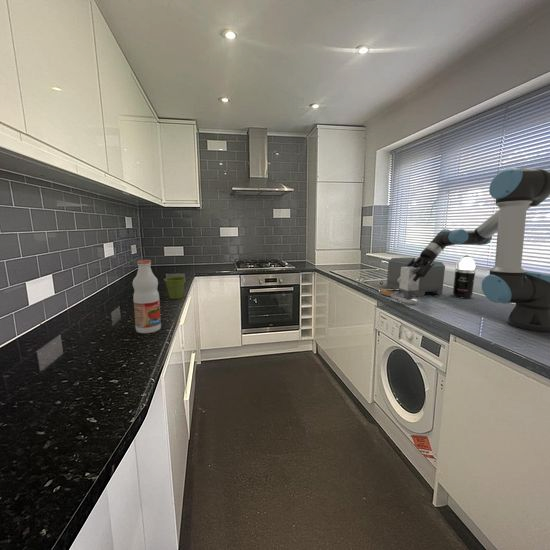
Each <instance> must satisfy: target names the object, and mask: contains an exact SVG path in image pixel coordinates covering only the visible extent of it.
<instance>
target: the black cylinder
mask: <svg viewBox="0 0 550 550" xmlns="http://www.w3.org/2000/svg"><path fill="white" fill-rule="evenodd" d="M476 270H477V263H476V261H475V260H474V258H472V257H471V256H470V255H467V254H466V255H464V256H462V257H461V258H459V259H458V260H457V261H456V263H455V270H454V271H455V272H454V279H453V288H452V289H453V290H452V295H453V297H455V296H456V298H459V297H463V298H462V299H470V298H472V297H473V291H474V284H475V276H476Z"/></svg>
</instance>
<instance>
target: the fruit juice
mask: <svg viewBox="0 0 550 550" xmlns="http://www.w3.org/2000/svg"><path fill="white" fill-rule="evenodd" d="M151 264H152V260H151V259H139V260H136V265H137V266H138V267H137V273H136V276H135V277H134V278H133V280H132V288H133V290H134V291H133V299H132V300H133V301H132V302H133V310H134V323H135V324H134V325H135V331H136V333H139V334H151V333H156V332H157V331H158V332H159V330H161V328H162V320H161V305H160V303H161V302H160V301H161V300H160V294H159V293H160V292H159V291H158V285H159V280H158V278H157V277H156V276H155V274H154V273H153V270H152V268H151Z"/></svg>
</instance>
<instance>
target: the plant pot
mask: <svg viewBox="0 0 550 550" xmlns="http://www.w3.org/2000/svg"><path fill="white" fill-rule="evenodd" d="M186 280H187V278H186V277H184V276H171V277H166V278H164V279H163V281H164V282H165V285H166V288H167V292H168V295H169V299H170V300H176V299H177V300H180V299H183V297H184V290H185V289H184V288H185V282H186Z"/></svg>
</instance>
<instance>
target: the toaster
mask: <svg viewBox="0 0 550 550" xmlns="http://www.w3.org/2000/svg"><path fill="white" fill-rule="evenodd" d="M413 258H415V257H392V258H390V259H389V260H388V265H387V278H386V279H387V280H386V287H387V288H388V289H393V290H395V289H399V290H400V292H402V293H404V289H400V288H399V286H400V283H399V282H398V281H397V280H398V279H399V278H400V274H401V267H406V266H407V265H408V264H409V263H410V262H411V261H412V259H413ZM415 259H418V257H416V258H415ZM433 263H434V265H433V266H432V267H431V268H430V270H429V271H428V272H427V274H426V275H425V276H424V277H420V278H419V289H418V290H413V296H416V297H421V298H422V297H424V296H425V295H426V293H430V294H434V295H437V296H441V295H443V289H444V288H443V287H444V279H445V271H446V265H445V264H444V263H443V262H442V261H437V260H434V261H433ZM416 264H417V263H416ZM417 268H420V266H419V267H417ZM399 290H398V291H399Z"/></svg>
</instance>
